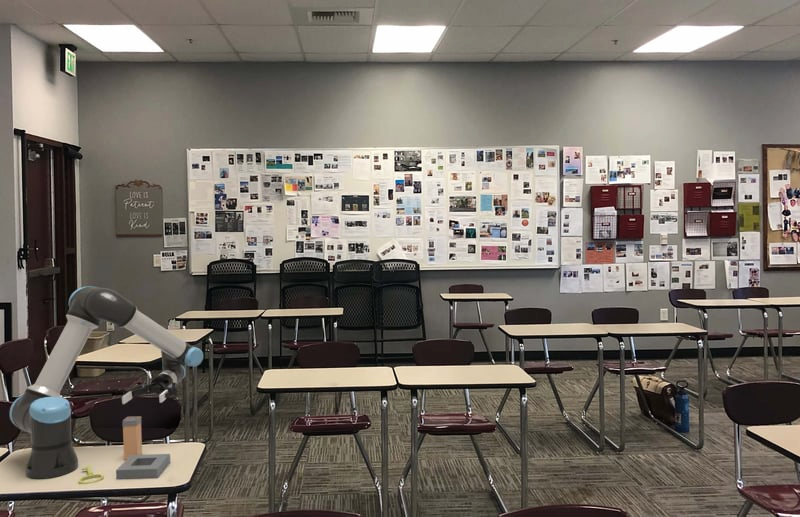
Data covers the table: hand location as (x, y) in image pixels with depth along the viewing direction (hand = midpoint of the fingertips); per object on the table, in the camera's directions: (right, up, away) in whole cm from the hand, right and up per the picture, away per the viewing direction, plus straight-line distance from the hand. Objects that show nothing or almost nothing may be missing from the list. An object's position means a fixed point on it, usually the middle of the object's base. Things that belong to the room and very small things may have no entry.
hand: (141, 399), depth 223 cm
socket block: (+9, -19, -19) cm, 29 cm away
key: (-7, -20, -24) cm, 32 cm away
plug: (0, -19, -8) cm, 20 cm away
